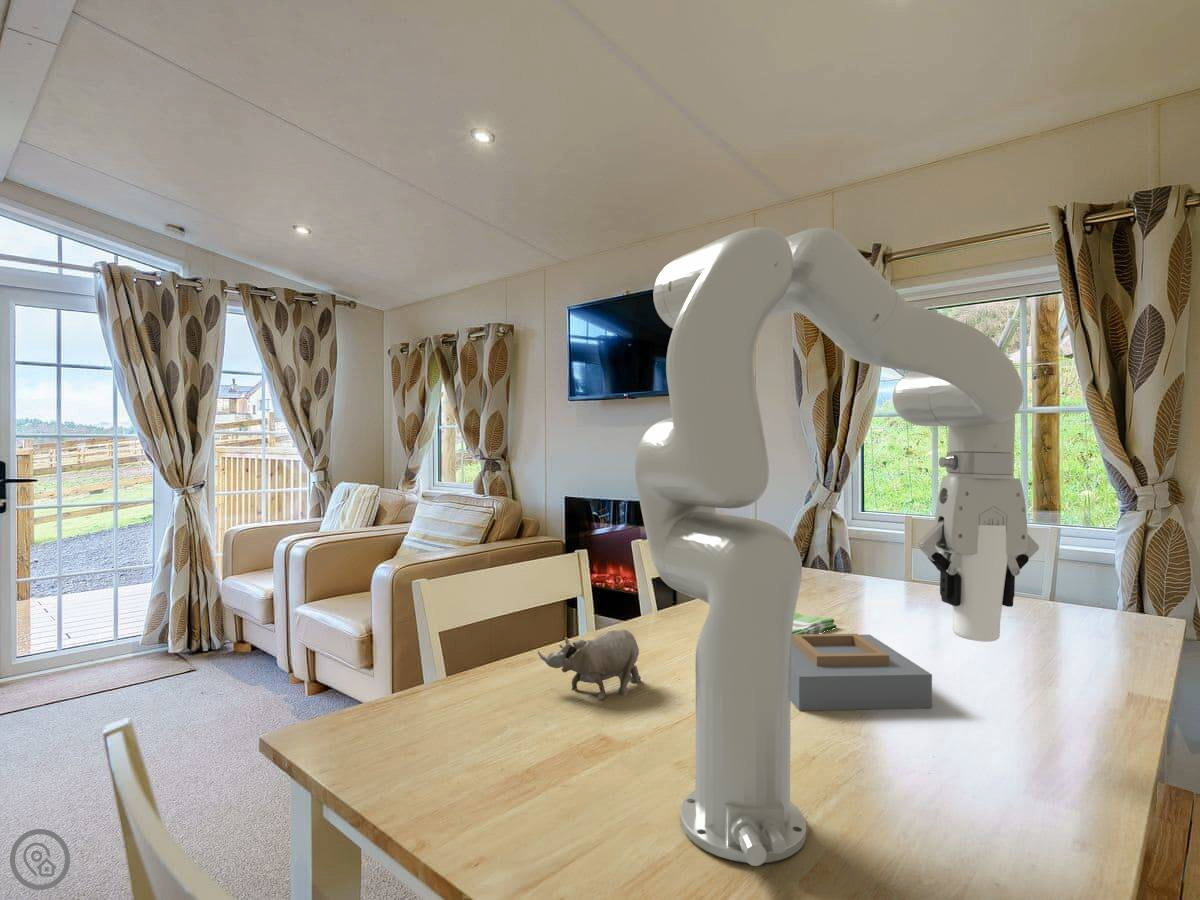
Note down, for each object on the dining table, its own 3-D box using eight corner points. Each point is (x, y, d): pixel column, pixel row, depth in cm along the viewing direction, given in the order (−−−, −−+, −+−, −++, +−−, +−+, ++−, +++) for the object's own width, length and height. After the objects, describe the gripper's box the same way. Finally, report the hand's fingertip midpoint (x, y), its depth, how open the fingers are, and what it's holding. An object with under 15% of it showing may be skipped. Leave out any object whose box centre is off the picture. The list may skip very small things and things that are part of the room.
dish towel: (704, 633, 136) (704, 616, 136) (770, 614, 151) (770, 599, 151) (774, 654, 123) (774, 635, 123) (838, 631, 138) (838, 614, 137)
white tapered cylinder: (1015, 646, 81) (1018, 526, 81) (956, 642, 82) (959, 524, 82) (994, 632, 88) (996, 520, 88) (939, 628, 89) (942, 518, 89)
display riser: (931, 708, 97) (932, 664, 96) (799, 710, 96) (799, 666, 95) (869, 662, 116) (869, 626, 116) (759, 664, 116) (759, 627, 115)
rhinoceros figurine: (670, 677, 102) (615, 602, 100) (604, 739, 98) (545, 662, 97) (652, 665, 110) (600, 595, 108) (590, 722, 106) (535, 651, 104)
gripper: (931, 466, 81) (928, 610, 81) (1065, 469, 82) (1062, 612, 82) (900, 464, 88) (897, 596, 88) (1023, 467, 89) (1020, 598, 89)
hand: (976, 602), depth 85 cm, fingers closed on white tapered cylinder, 6 cm apart
